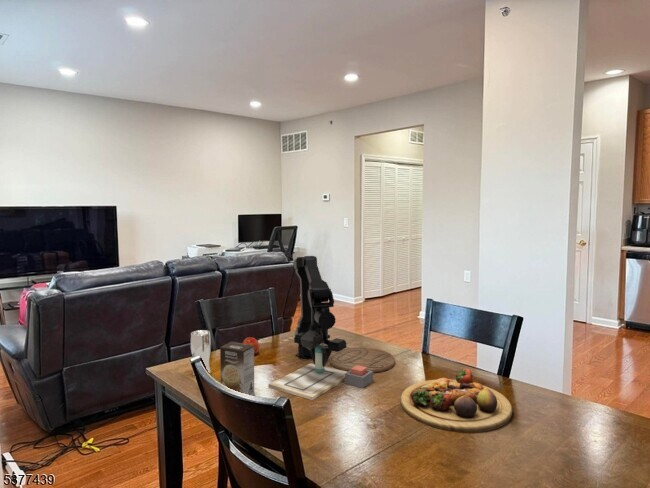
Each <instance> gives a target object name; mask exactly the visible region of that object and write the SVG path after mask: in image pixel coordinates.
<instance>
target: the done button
mask: <svg viewBox="0 0 650 488" xmlns="http://www.w3.org/2000/svg"><path fill="white" fill-rule="evenodd" d="M366 373H367V367H363V366H359V365H356V366H355V367H353V368H351V374H355V375H359V376H363V375H365V374H366Z"/></svg>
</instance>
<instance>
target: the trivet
mask: <svg viewBox="0 0 650 488" xmlns="http://www.w3.org/2000/svg"><path fill="white" fill-rule="evenodd" d="M328 361H329V362H328V363H329V365H330V366H331V368H334V369H338V370H343V371H347V372H348V371H350V370H351V368H353V367H355V366H356V365H359V366H363V367H367V370H370V371H373V375H374V374H379V373H385V372H387V371H389V370H391V369H393V368H394V367H395V361H396V360H395V356H394V355H392V354H391V353H389V352H387V351H386V350H382V349H378V348H371V347H349V348H345V349H343V350H341V351H339V352H335V351H333V352H331V354H330V356H329V359H328Z"/></svg>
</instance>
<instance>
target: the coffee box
mask: <svg viewBox="0 0 650 488" xmlns="http://www.w3.org/2000/svg"><path fill="white" fill-rule="evenodd" d="M219 351H220V353H219V355H220V358H219V359H220V360H219V361H220V365H219V366H220V385H221V384H223V385H225V386H227V387H228V388H230V389H233V390H235V391H238V392H241V393H245V394H249V395H252V396H253V395H255V354H254V345H248V344H243V342H237V341H229V342H228V343H226V344H224V345H222V346H220V347H219Z"/></svg>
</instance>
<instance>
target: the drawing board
mask: <svg viewBox="0 0 650 488" xmlns="http://www.w3.org/2000/svg"><path fill="white" fill-rule="evenodd" d="M324 367H325V371H324V372H322V373H317V372H315V364H314V362H311V363H308V364H305V366H302V367H300V368H298V369H296V370H294V371H292V372H290V373H288V374H286V375H284V376H282V377H280V378H278V379H276V380H274V381H272V382H270V383H268V385H267V386H268V388H270V389H273V390H277V391H280V392H282V393H287V394H290V395H295V396H297V397H301V398H305V399H307V400H310V401H314V400H316V399H317V398H318V397H320V396H322V395H323V394H325V393H327V392H329V391H330V390H331V389H333V388H335V387H336V386H338V385H340V384H341V383H343V382H345V373H346V372H347V371H343V370H338V369H335V368H333V367H329V366H327V365H326V366H324Z"/></svg>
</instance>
